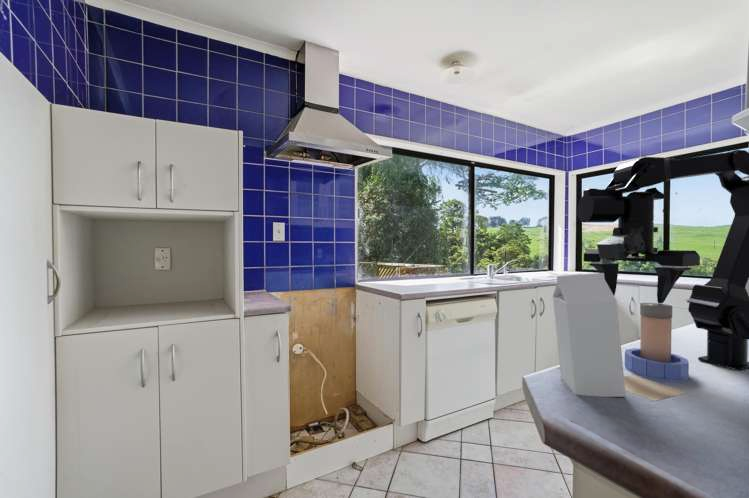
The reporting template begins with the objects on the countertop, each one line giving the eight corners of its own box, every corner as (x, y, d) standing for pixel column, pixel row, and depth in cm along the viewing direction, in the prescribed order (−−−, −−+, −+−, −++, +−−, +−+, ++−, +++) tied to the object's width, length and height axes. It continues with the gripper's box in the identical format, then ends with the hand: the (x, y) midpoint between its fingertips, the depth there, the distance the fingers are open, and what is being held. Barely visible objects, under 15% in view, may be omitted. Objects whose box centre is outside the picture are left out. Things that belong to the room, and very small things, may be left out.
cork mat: (632, 378, 62) (632, 374, 62) (685, 396, 54) (685, 392, 54) (601, 384, 59) (601, 381, 59) (653, 405, 52) (653, 401, 51)
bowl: (644, 363, 69) (644, 346, 69) (699, 380, 61) (699, 360, 61) (613, 369, 66) (614, 351, 66) (668, 388, 58) (668, 367, 57)
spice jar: (649, 363, 66) (650, 302, 66) (677, 371, 62) (678, 306, 62) (633, 366, 65) (634, 303, 64) (661, 375, 60) (662, 307, 60)
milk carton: (626, 397, 52) (614, 274, 53) (575, 398, 54) (564, 278, 54) (605, 379, 59) (594, 271, 59) (560, 380, 61) (550, 274, 61)
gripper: (565, 224, 75) (565, 295, 75) (663, 218, 57) (662, 310, 58) (601, 225, 79) (600, 292, 79) (702, 219, 61) (701, 306, 62)
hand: (634, 299), depth 69 cm, fingers open, 9 cm apart
